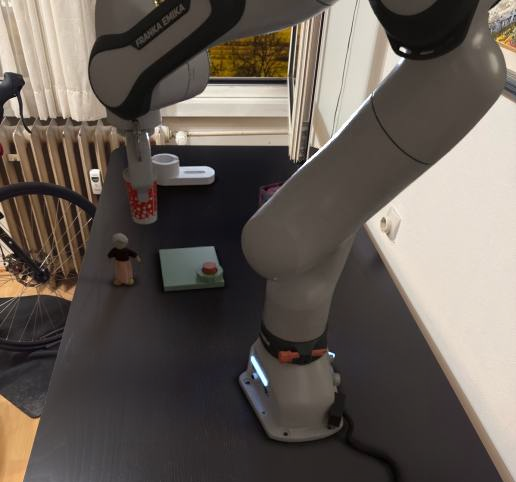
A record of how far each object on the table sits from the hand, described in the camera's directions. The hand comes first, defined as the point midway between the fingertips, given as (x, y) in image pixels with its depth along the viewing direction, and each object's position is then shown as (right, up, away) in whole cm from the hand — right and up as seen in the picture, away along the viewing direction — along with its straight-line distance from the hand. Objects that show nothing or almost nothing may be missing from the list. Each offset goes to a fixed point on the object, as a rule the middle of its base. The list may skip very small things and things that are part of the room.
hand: (142, 190), depth 88 cm
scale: (+5, -10, +30) cm, 32 cm away
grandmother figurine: (-10, -14, +25) cm, 30 cm away
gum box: (+32, +4, +48) cm, 58 cm away
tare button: (+10, -11, +26) cm, 29 cm away
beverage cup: (0, -4, +4) cm, 6 cm away
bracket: (-3, +26, +68) cm, 73 cm away
